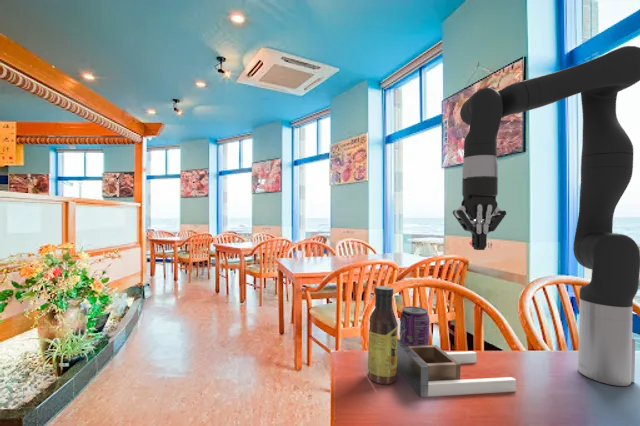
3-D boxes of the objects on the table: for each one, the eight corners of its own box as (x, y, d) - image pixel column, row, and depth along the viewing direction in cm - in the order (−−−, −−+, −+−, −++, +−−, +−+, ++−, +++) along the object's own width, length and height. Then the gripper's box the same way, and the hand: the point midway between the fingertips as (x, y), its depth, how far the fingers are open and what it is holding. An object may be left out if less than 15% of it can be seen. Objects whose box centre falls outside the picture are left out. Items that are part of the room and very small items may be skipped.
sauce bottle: (397, 388, 67) (399, 292, 67) (366, 384, 68) (369, 290, 68) (396, 373, 73) (398, 285, 74) (368, 369, 75) (370, 283, 75)
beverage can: (403, 348, 87) (405, 304, 87) (431, 355, 84) (432, 308, 84) (395, 358, 81) (397, 310, 81) (424, 365, 78) (425, 315, 78)
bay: (473, 361, 81) (473, 337, 81) (516, 392, 67) (516, 362, 67) (393, 364, 78) (393, 339, 78) (420, 397, 64) (421, 367, 64)
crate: (435, 366, 77) (436, 345, 77) (460, 388, 67) (460, 364, 67) (403, 367, 76) (404, 346, 76) (423, 390, 66) (424, 365, 66)
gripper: (493, 179, 81) (493, 248, 81) (445, 177, 79) (444, 248, 79) (516, 175, 74) (515, 251, 74) (463, 173, 72) (462, 251, 72)
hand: (478, 249), depth 76 cm, fingers closed
